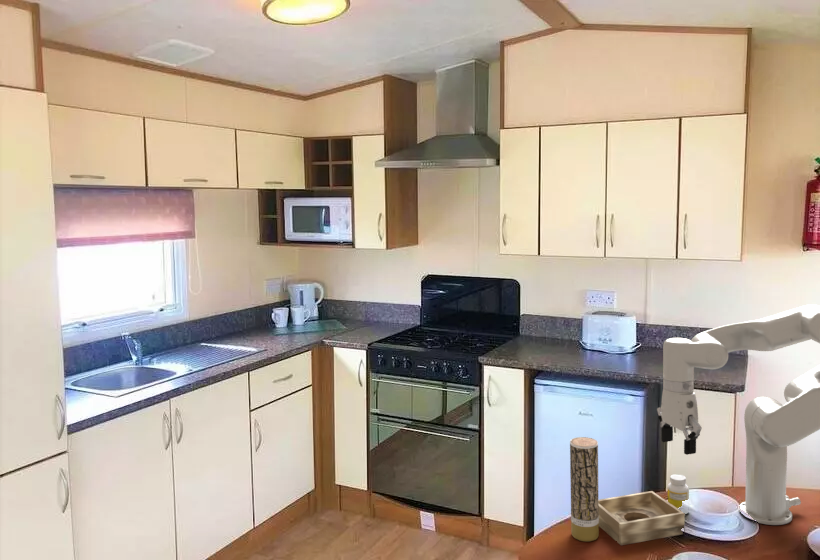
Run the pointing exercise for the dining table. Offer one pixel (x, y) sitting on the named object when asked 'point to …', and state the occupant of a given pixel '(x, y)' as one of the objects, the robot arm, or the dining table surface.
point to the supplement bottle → (677, 490)
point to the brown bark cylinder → (584, 488)
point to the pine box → (639, 518)
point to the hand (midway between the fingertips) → (678, 447)
